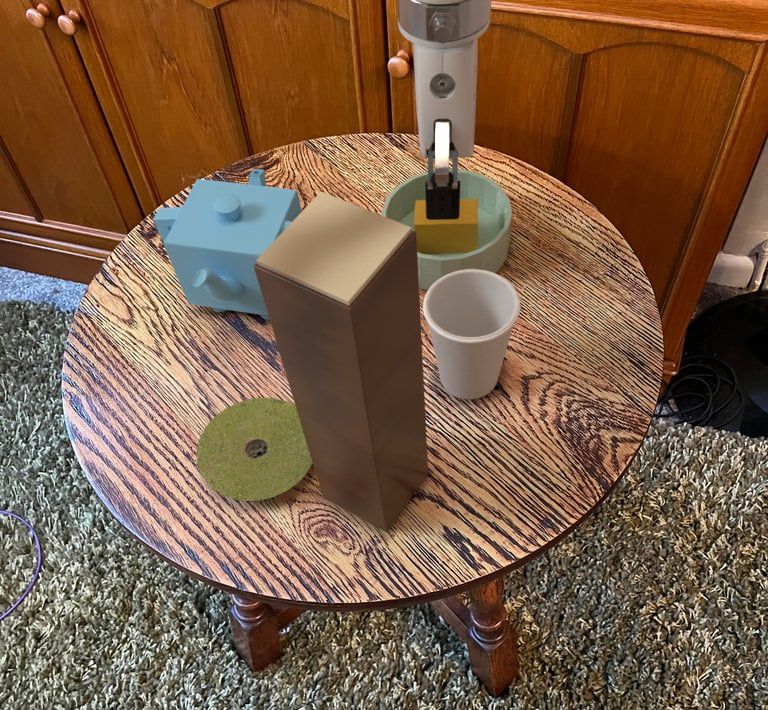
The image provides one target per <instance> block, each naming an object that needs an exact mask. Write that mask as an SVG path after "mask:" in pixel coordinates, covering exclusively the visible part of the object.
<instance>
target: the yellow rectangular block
mask: <svg viewBox="0 0 768 710" xmlns="http://www.w3.org/2000/svg"><path fill="white" fill-rule="evenodd" d="M414 231H415V232H416V237H417V252H419V253H421V254H449V253H469V252H472V251H475V250H477V232H478V199H460V215H459V218H458V219H452V220H429V219H427V218H426V200H416V201H415V218H414Z"/></svg>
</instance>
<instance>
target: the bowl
mask: <svg viewBox="0 0 768 710" xmlns="http://www.w3.org/2000/svg"><path fill="white" fill-rule="evenodd" d="M434 172H435V169H434ZM449 172H451V173H452V167H451V168H450V167H449ZM425 181H428V170H427V171H424V172H422V173H418V174H415V175H413V176H411V177H409V178H408V179H406V180H404V181H403V182H401V183H400V184H397V185H396V187H395V188H393V190H392V191H391V192H390V193H389V195H388V196H387V197H386V199H385V201H384V204H383V206H382V209H381V213H380V215H382V216H384V217H387V218H389V219H392V220H394V221H397V222H399V223H402V224H404V225H407V226H409V227H411V228H412V231H414V218H415V201H416V200H426V194H425ZM458 181H460V199H478V232H477V250H475V251H472V252H469V253H449V254H421V253H419V252H417V257H418V277H419V289H421V290H424V291H428V290H429V288H430V287H431V286H432V285H433V284H434V283H435V282H436V281H437V280H439V279H440V278H442V277H443V276H445V275H447V274H449V273H452V272H455V271H459V270H465V269H480V270H486V271H490V272H493V273H495V274H497V272H499V270H501V268H502V266H503V265H504V264H505V261H506V259H507V257H508V254H509V250H510V249H509V248H510V243H511V235H512V223H513V208H512V203H511V199H510V197H509V195H508V194H507V193H506V192H505V190H504V189H503V187H502V186H501V185H500V184H498V183H497V182H495V181H494V180H493V179H491V178H490V177H488V176H487V175H483V174H481V173H478V172H475V171H472V170H469V169H468V170H467V169H461V168H460V169H459V168H458Z"/></svg>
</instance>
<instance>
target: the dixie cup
mask: <svg viewBox="0 0 768 710" xmlns="http://www.w3.org/2000/svg"><path fill="white" fill-rule="evenodd" d="M422 312H423V316H424V319H425V321H426V323H427V325H428V328H429V333H430V337H431V341H432V347H433V352H434V356H435V361H436V365H437V370H438V375H439V379H440V383H441V385H442V388H444V390H445V391H446V392H447V393H448V394H449V395H451V396H453V397H455V398H457V399H461V400H477V399H480V398H483V397H485V396H486V395H487V396H488V394H489V393H491V392H492V391H493V390H494V389H495V387H496V385H498V380H499V377H500V374H501V370H502V366H503V363H504V359H505V356H506V353H507V349H508V345H509V342H510V339H511V334H512V332H513V329H514V325H515V323H517V320H518V318H519V316H520V312H521V300H520V296H519V293H518V290H517V289H516V287H514V285H513V284H512V283H511V282H510V281H509V280H508V279H506V278H504V277H503V276H502V275H500V274H498V273H493V272H490V271H486V270H480V269H465V270H459V271H455V272H452V273H449V274H447V275H445V276H443V277H442V278H440V279H439V280H437V281H436V282H435V283H434V284H433V285H432V286H431V287H430V288H429V290H426V293H425V295H424V298H423V303H422Z"/></svg>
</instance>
